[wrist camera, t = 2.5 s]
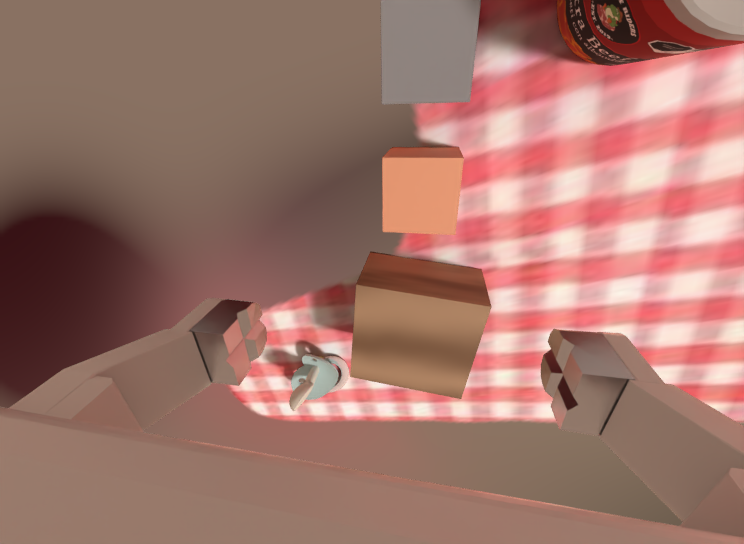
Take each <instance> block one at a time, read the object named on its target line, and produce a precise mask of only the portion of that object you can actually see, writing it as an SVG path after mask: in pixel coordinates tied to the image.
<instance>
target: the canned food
mask: <svg viewBox="0 0 744 544" xmlns="http://www.w3.org/2000/svg"><path fill="white" fill-rule="evenodd" d="M557 19H558V24H559V28H560V32H561V34H562V36H563V38H564V41H565V43H566V44H567V46H568V47H569V48H570V49H571V50H572V51H573V52H574V54H576V55H577V56H579V57H580V58H582V59H584V60H585V61H588V62H591V63H594V64H598V65H609V66H611V65H620V64H627V63H633V62H639V61H644V60H650V59H656V58H662V57H667V56H673V55H679V54H684V53H690V52H696V51H701V50H707V49H713V48H718V47H724V46H730V45H735V44H741V43H744V0H558V1H557Z"/></svg>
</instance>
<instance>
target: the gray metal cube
mask: <svg viewBox="0 0 744 544" xmlns="http://www.w3.org/2000/svg"><path fill="white" fill-rule="evenodd" d="M480 5H481V0H381V67H382V68H381V69H382V104H412V103H450V102H470V96H471V87H472V78H473V69H474V60H475V51H476V41H477V32H478V23H479V14H480Z"/></svg>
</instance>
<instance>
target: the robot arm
mask: <svg viewBox="0 0 744 544" xmlns="http://www.w3.org/2000/svg"><path fill="white" fill-rule="evenodd" d="M261 316H262V311H261V307H260V305H259V304H257V303H255V302H248V301H238V300H229V299H219V298H209V299H206V300H205V301H204V302H202V303H201V304H200V305H199V306H198V307H196V308H195V309H194V310H193V311H192V312H191V313H189V314H188V315H187V316H186V317H185V318H183V319H182V320H181V321H180V322H179V323H178V324H176V325H175V326H174V327H173V328H172V329H170V330H169V329H165V330H162V331H160V332H157V333H155V334H152V335H150V336H147V337H144V338H142V339H139V340H137V341H134V342H132V343H129V344H127V345H124V346H121V347H119V348H116V349H114V350H112V351H109V352H106V353H104V354H101V355H99V356H96V357H94V358H91V359H88V360H86V361H83V362H81V363H78V364H76V365H73V366H71V367H68V368H66V369H63V370H62V371H60V372H59V373H57V374H56V375H55V376H53V377H52V378H50V379H49V380H48V381H46V382H45V383H44V384H42V385H41V386H39V387H38V388H36V389H35V390H34V391H32V392H31V393H30V394H28V395H27V396H25V397H24V398H23V399H21V400H20V401H18V402H17V403H16V404H14V405H13V406H11V407H10V408H9V409H8V408H2V407H0V544H744V426H742V425H741V424H739V423H737V422H736V421H734V420H732V419H731V418H729V417H727V416H725V415H724V414H722V413H720V412H719V411H717V410H715V409H713V408H712V407H710V406H708V405H707V404H705V403H703V402H702V401H700V400H698V399H696V398H695V397H693V396H691V395H690V394H688V393H686V392H685V391H683V390H681V389H679V388H678V387H676V386H674V385H671V384H665V383H664V382H663V381H662V380H661V378H660V377H659V376H658V375H657V373H656V372H655V371H654V370H653V369H652V367H651V366H650V365H649V364H648V362H647V361H646V360H645V359H644V357H643V356H642V355H641V354H640V353H639V351H638V350H637V349H636V348H635V346H634V345H633V344H632V343H631V341H630V340H629V339H628V338H627V337H626V336H625V335H623V334H621V333H606V332H597V333H596V332H584V331H572V330H559V329H553V331H552V332H551V334H550V336H549V340H548V343H549V345H550V347H551V350H550V351H548V352H547V353H545V354H544V355H543V359H542V363H541V379H542V384H543V386H544V389H545V391H546V392H547V393H548V394H549V395H550V396H551V397H553V401H552V404H551V408H552V411H553V413H554V416H555V418H556V421H557V424H558V426H559V429H560V430H564V431H570V432H576V433H582V434H588V435H594V436H600V439H601V440H602V441H603V442H604V443H605V444H606V445H607V446H608V447H609V448H610V449H611V450H612V451H613V452H614V453H615V454H616V455H617V456H618V457H619V458H620V459H621V460H622V461H623V462H624V463H625V464H626V465H627V466H628V467H629V468H630V469H631V470H632V471H633V472H634V473H635V474H636V475H637V476H638V477H639V478H640V479H641V480H642V481H643V482H644V483H645V484H646V486H647V487H648V488H649V489H650V490H652V492H653V493H654V494H656V496H657V497H658V498H659V499H660V500H661V501H662V502H663V503H664V504H665V505H666V506H667V507H668V508H669V509H670V510H671V511H673V513H674V514H676V516H677V517H678V518H679V519H680V520H681V521H682V522H683V523H682V524H681V525H680V526H675V525H670V524H664V523H658V522H652V521H647V520H641V519H635V518H630V517H624V516H619V515H612V514H607V513H601V512H596V511H590V510H584V509H579V508H573V507H567V506H561V505H556V504H550V503H544V502H538V501H532V500H527V499H521V498H515V497H510V496H504V495H498V494H492V493H487V492H481V491H475V490H470V489H464V488H458V487H452V486H446V485H441V484H435V483H429V482H423V481H417V480H412V479H406V478H401V477H395V476H389V475H384V474H378V473H372V472H367V471H361V470H355V469H350V468H344V467H338V466H332V465H327V464H321V463H315V462H310V461H304V460H299V459H293V458H287V457H282V456H276V455H270V454H265V453H259V452H253V451H248V450H242V449H236V448H230V447H224V446H219V445H213V444H208V443H202V442H196V441H190V440H185V439H179V438H173V437H168V436H162V435H156V434H150V433H145V432H143V430H145V429H146V428H148V427H149V426H151V425H152V424H154V423H155V422H157V421H158V420H160V419H161V418H163V417H164V416H166V415H167V414H168V413H170V412H171V411H173V410H174V409H176V408H177V407H179V406H180V405H182V404H183V403H185V402H186V401H187V400H189V399H190V398H192V397H193V396H195V395H196V394H198V393H199V392H201V391H202V390H204V389H205V388H207V387H208V386H209V385H211V383H219V384H229V385H238V386H239V385H240V383H241V382H242V381H243V379H244V378H245V376H246V375H247V373H248V372H249V371H250V369H251V363H250V362H251V361H253V360H255V359H256V358H258V357H259V356H260V355H261V353H262V352H263V350H264V347H265V344H266V341H267V332H266V327H265V326H264V324H263V323H262V322H261V321H260V320H259V319H260V318H261Z"/></svg>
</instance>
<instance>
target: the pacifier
mask: <svg viewBox="0 0 744 544" xmlns="http://www.w3.org/2000/svg"><path fill="white" fill-rule="evenodd" d="M312 358H313V359H312ZM302 362H303V364H304V366H302V367H300V368H299V369H297V371H296V372H295V373H294V375H293V377H292V381H291V385H292V389H293V393H292V394H291V397H290V407H291V409H292V410H293V411H295V410H296V409H297V408H298V407H299V406H300V405H301V404H302V403H303V402H304V400H305V399H308V400H311V399H317V398H320V397H322V396H324V395H325V394H327V393H328V392H334V391H337V390H339V389H340V388H342V387H343V386H344V385H345V383H346V382H347V380H348V377H349V368H348V366H347V364H346V362H345V361H344V360H343V359H341V358H339V357H336V356H328V357H323V356H315V355H312V354H305V355H304V356H303V357H302ZM330 363H333V364H336V365H337V366H338V367H339V368H340V370H341V374H342V375H341V378H340V379H339V380H338V371H337V369H336V368H335V367H334V366H333V365H332V364H330ZM300 378H303V379H305V382H304V383H300V382H299V379H300ZM337 380H338V381H337Z"/></svg>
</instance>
